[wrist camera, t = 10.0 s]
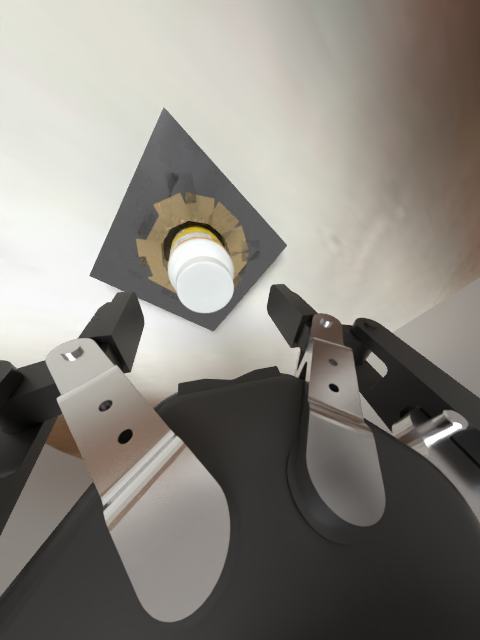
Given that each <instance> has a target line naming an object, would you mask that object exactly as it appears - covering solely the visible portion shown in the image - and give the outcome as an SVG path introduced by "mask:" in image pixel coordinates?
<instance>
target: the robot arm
mask: <svg viewBox="0 0 480 640" xmlns="http://www.w3.org/2000/svg"><path fill="white" fill-rule="evenodd" d="M267 311H268V314H269V316H270V317H271V319H272V320H273V322H274V323H275V325H276V326H277V328H278V329H279V331H280V332H281V334H282V335H283V337H284V338H285V340H286V341H287V343H288V344H289V346H290V347H291V348H295V347H299V348H300V350H299V353H298V358H297V364H296V369H295V375H294V376H292V375H288V374H283V373H280V372H279V370H278V368H277V366H274V367H269V368H263V369H257V370H254V371H251V372H249V373H247V374H245V375H243V376H240V377H238V378H236V379H233V380H220V379H201V380H196V381H190V382H185V383H179V384H178V392H177V393H175V394H173V395H171V396H169V397H168V398H166V399H165V400H163V401H162V402H160V403H159V404H158V405H157V406H156V407H154V408H152V407H151V406H150V404H149V403H148V402H147V401H146V400H145V398H144V397H143V396H142V395H141V394H140V392H139V391H138V390H137V389H136V388H135V386H134V385H133V384H132V383H131V382H130V380H129V379H128V378H127V377H126V376H125V374H124V373H129V372H131V369H132V366H133V362H134V359H135V355H136V352H137V348H138V345H139V342H140V338H141V335H142V331H143V328H144V316H143V313H142V310H141V307H140V304H139V301H138V298H137V295H136V293H135V292H119V293H117V294H116V295H115V297H114V299H113V300H112V302H107V303H106V304H104V305H103V306H102V307H100V308H99V309H98V310H97V312H96V313H95V316H93V317H92V319H91V321H90V322H89V323H88V325H87V326H86V327H85V329H84V330H83V332H82V333H81V335H80V336H79V337H78V339H74V340H71V341H68V342H65V343H63V344H61V345H59V346H58V347H56V348H55V349H53V350H52V351H51V352H50V353H49V354H48V355H47V357H46V360H45V361H41V362H38V363H35V364H31V365H28V366H25V367H21V368H18V369H17V368H16V367H15V366H13V365H12V364H11V363H10V362H8V361H4V360H0V535H1V533H2V531H3V529H4V527H5V525H6V523H7V521H8V519H9V516H10V514H11V512H12V510H13V508H14V506H15V504H16V502H17V500H18V498H19V496H20V494H21V491H22V490H23V488H24V486H25V483H26V481H27V479H28V477H29V475H30V473H31V471H32V469H33V467H34V465H35V463H36V461H37V459H38V457H39V455H40V452H41V450H42V448H43V446H44V444H45V442H46V440H47V438H48V436H49V434H50V432H51V430H52V428H53V426H54V424H55V421H56V419H57V417H58V415H60V414H63V415H64V417H65V420H66V422H67V424H68V426H69V429H70V431H71V433H72V435H73V437H74V440H75V442H76V444H77V446H78V448H79V451H80V453H81V455H82V457H83V460H84V462H85V464H86V466H87V468H88V470H89V473H90V475H91V477H92V479H93V483H92V484H91V485H90V486H89V488H88V489H87V490H86V491H85V492H84V494H83V495H82V496H81V497H80V499H79V500H78V501H77V502H76V504H75V505H74V506H73V507H72V509H71V510H70V511H69V512H68V514H67V515H66V516H65V517H64V518H63V520H62V521H61V522H60V523H59V525H58V526H57V527H56V528H55V530H54V531H53V532H52V533H51V535H50V536H49V537H48V538H47V540H46V541H45V542H44V543H43V544H42V546H41V547H40V548H39V549H38V551H37V552H36V553H35V554H34V556H33V557H32V558H31V559H30V561H29V562H28V563H27V564H26V566H25V567H24V568H23V569H22V570H21V572H20V573H19V574H18V575H17V577H16V578H15V579H14V580H13V582H12V583H11V584H10V585H9V587H8V588H7V589H6V590H5V592H4V593H3V594H2V595H1V597H0V640H480V523H479V521H478V519H477V517H476V516H475V514H476V513H479V512H480V398H479V397H477V396H476V395H474V394H473V393H472V392H471V391H469V390H468V389H466V388H465V387H464V386H462V385H461V384H460V383H458V382H457V381H456V380H454V379H453V378H452V377H450V376H449V375H448V374H446V373H445V372H444V371H442V370H441V369H440V368H438V367H437V366H436V365H434V364H433V363H432V362H430V361H429V360H428V359H426V358H425V357H424V356H422V355H421V354H420V353H418V352H417V351H416V350H414V349H413V348H411V347H410V346H409V345H407V344H406V343H405V342H404V341H402V340H401V339H400V338H398V337H396V336H395V335H394V334H393V333H392V332H390V331H389V330H388V329H386V328H385V327H384V326H382V325H381V324H379V323H378V322H376V321H373V320H370V319H367V318H358V319H356V320H355V322H354V324H353V325H343V324H341V323H340V321H339V320H338V319H336V318H335V317H333V316H331V315H328V314H322V313H319V314H318V313H317V312H316V311H315V310H314V309H313V308H312V307H311V306H310V305H309V304H307V303H306V302H305V301H304V300H303V299H302V298H301V297H300V296H299V295H298V294H296V293H294V292H292V291H291V290H290V289H289V288H288V287H287V286H286V285H284V284H276V285H272V286H271V288H270V293H269V299H268V304H267ZM371 352H373V353H374V354H375V355H377V357H379V358H380V359H381V360H382V361H383V362H384V363H385V365H386V366H387V369H388V372H387V374H386V375H385V376H384V377H382V376H381V375H380V374H379V373H378V372H377V371H376V370H375V369H374V368H373V367H372V366H371V365H370V364H369V363H368V362H367V361H366V358H367V357H368V356H369V354H370V353H371ZM359 392H360V393H361V394H362V395H363V397H364V398H365V399H366V400H367V402H368V403H369V404H370V405H371V407H372V408H373V409H374V410H375V412H376V413H377V414H378V416H379V417H380V418H381V419H382V421H383V422H384V423H385V424H386V426H387V427H388V428H389V429H390V431H391V432H392V433H393V435H394V436H392V435H390V434H389V433H387V432H386V431H384V430H382V429H381V428H379V427H378V426H376V425H374V424H373V423H371V422H369V421H368V420H366V419H365V418H363V413H362V407H361V400H360V394H359Z"/></svg>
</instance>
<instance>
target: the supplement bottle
mask: <svg viewBox="0 0 480 640" xmlns="http://www.w3.org/2000/svg"><path fill="white" fill-rule="evenodd" d="M168 276H169V280H170V282H171V284H172V286H173V288H174V289H175V290H176V291H177V295H178V298H179V299H180V301H181V302H182V304H183V305H184V306H186V307H187V308H188V309H190V310H192V311H195V312H198V313H211V312H215V311H218V310H220V309H222V308H223V307H224V306H226V305H227V304H228V302H229V301H230V299H231V298H232V295H233V292H234V283H233V278H234V266H233V262H232V260H231V258H230V256H229V254H228V253H227V251H226V250H225V248H224V247H223V245H222V244H221V242H220V241H219V240H218V238H217V237H216V236H215V235H214V234H213V233H212V232H211V231H210V230H209V229H207V228H206V227H204V226H200V225H189V226H186V227H184V228H182V229H180V230H179V231H178V232H177V233H176V235H175V236H174V238H173V241H172V245H171V251H170V256H169V261H168Z"/></svg>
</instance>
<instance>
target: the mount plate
mask: <svg viewBox="0 0 480 640" xmlns="http://www.w3.org/2000/svg"><path fill="white" fill-rule="evenodd" d="M187 221H194V222H200V223H206V224H209V225H211V226H212V227H213V228H214V229H215V230H216V231H218V232H219V233H220V234H221V237H222V240H223V242H224V245H225V247H226V249H225V250H226V251H227V253H228V254H229V256H230V258H231V260H232V262H233V266H234V278H233V283H234V292H233V295H232V298H231V299H230V301H229V302H228V304H227V305H226V306H224V307H223V308H222V309H220V310H218V311H215V312H211V313H198V312H195V311H192V310H190V309H188V308H187V307H186V306H184V305H183V304H182V302H181V301H180V299H179V298H178V295H177V291H176V290H175V289H174V288H173V286H172V284H171V282H170V280H169V276H168V261H167V260H166V258H165V255H164V240H165V238H166V236H167V235H168V233H169V231H170V229H171V228H174V227H176V226H178V225H180V224H182V223H185V222H187ZM286 246H287V245H286V244H285V242H284V241H283V240H282V239H281V238H280V237H279V236H278V235H277V233H276V232H275V231H274V230H273V229H272V228H271V227H270V226H269V224H268V223H267V222H266V221H265V220H264V219H263V218H262V217H261V215H260V214H259V213H258V212H257V211H256V210H255V209H254V208H253V207H252V205H251V204H250V203H249V202H248V201H247V200H246V199H245V198H244V196H243V195H242V194H241V193H240V192H239V191H238V190H237V189H236V187H235V186H234V185H233V184H232V183H231V182H230V181H229V180H228V178H227V177H226V176H225V175H224V174H223V173H222V172H221V171H220V170H219V168H218V167H217V166H216V165H215V164H214V163H213V162H212V161H211V159H210V158H209V157H208V156H207V155H206V154H205V153H204V152H203V150H202V149H201V148H200V147H199V146H198V145H197V144H196V143H195V142H194V140H193V139H192V138H191V137H190V136H189V135H188V134H187V133H186V131H185V130H184V129H183V128H182V127H181V126H180V125H179V124H178V122H177V121H176V120H175V119H174V118H173V117H172V116H171V115H170V113H169V112H168V111H167V110H166V109H165V108H163V110H162V112H161V115H160V117H159V119H158V122H157V124H156V126H155V128H154V131H153V133H152V135H151V137H150V140H149V142H148V144H147V146H146V149H145V151H144V153H143V155H142V158H141V160H140V162H139V165H138V167H137V169H136V171H135V174H134V176H133V178H132V180H131V183H130V185H129V187H128V189H127V192H126V194H125V196H124V198H123V201H122V203H121V205H120V208H119V210H118V212H117V214H116V217H115V219H114V221H113V223H112V226H111V228H110V230H109V232H108V235H107V237H106V239H105V242H104V244H103V246H102V248H101V251H100V253H99V255H98V257H97V260H96V262H95V264H94V266H93V269H92V271H91V273H90V275H89V276H91V277H93V278H96V279H98V280H100V281H102V282H105V283H107V284H109V285H111V286H113V287H116V288H118V289H120V290H122V291H125V292H135V293H136V295H137V297H138V298H140V299H142V300H145V301H147V302H149V303H151V304H154V305H156V306H158V307H160V308H163V309H165V310H167V311H169V312H171V313H174V314H176V315H178V316H180V317H183V318H185V319H187V320H189V321H191V322H194V323H196V324H198V325H200V326H203V327H205V328H207V329H209V330H212V331H214V330H215V329H216V328H217V327H218V326H219V324H220V323H221V322H222V321H223V320H224V319H225V317H226V316H227V315H228V314H229V313H230V312H231V310H232V309H233V308H234V307H235V306H236V305H237V303H238V302H239V301H240V300H241V299H242V298H243V296H244V295H245V294H246V293H247V292H248V291H249V289H250V288H251V287H252V286H253V285H254V284H255V282H256V281H257V280H258V279H259V278H260V277H261V275H262V274H263V273H264V272H265V271H266V270H267V268H268V267H269V266H270V265H271V264H272V263H273V261H274V260H275V259H276V258H277V257H278V256H279V254H280V253H281V252H282V251H283V250H284V249H285V247H286Z"/></svg>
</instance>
